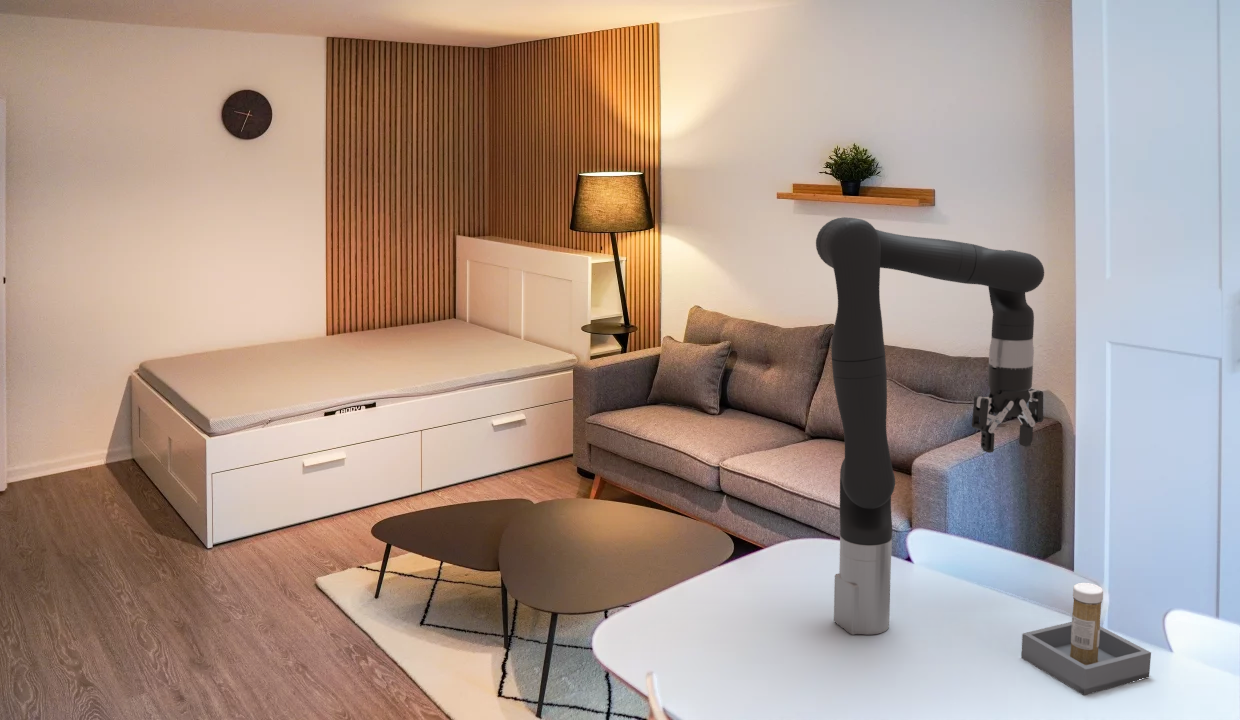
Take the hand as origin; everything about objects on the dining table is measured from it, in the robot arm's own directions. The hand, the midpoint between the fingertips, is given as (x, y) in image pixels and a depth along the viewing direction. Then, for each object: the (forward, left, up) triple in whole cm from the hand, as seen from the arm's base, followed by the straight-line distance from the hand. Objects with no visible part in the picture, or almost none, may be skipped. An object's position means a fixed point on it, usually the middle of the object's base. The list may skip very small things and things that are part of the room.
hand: (1006, 448), depth 193 cm
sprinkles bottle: (-2, -23, -31) cm, 39 cm away
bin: (-2, -23, -32) cm, 40 cm away
